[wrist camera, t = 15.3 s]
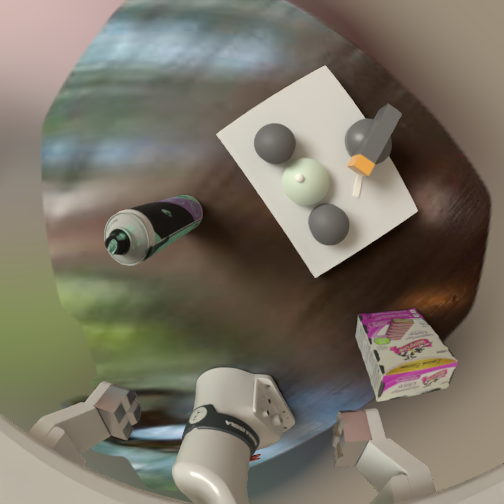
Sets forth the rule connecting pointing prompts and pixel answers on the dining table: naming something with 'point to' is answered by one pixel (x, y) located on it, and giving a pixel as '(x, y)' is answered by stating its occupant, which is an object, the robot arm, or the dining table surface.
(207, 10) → the dining table surface
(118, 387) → the robot arm
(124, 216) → the spray can
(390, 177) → the base
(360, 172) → the wing knob
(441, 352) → the candy bar box
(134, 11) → the dining table surface
